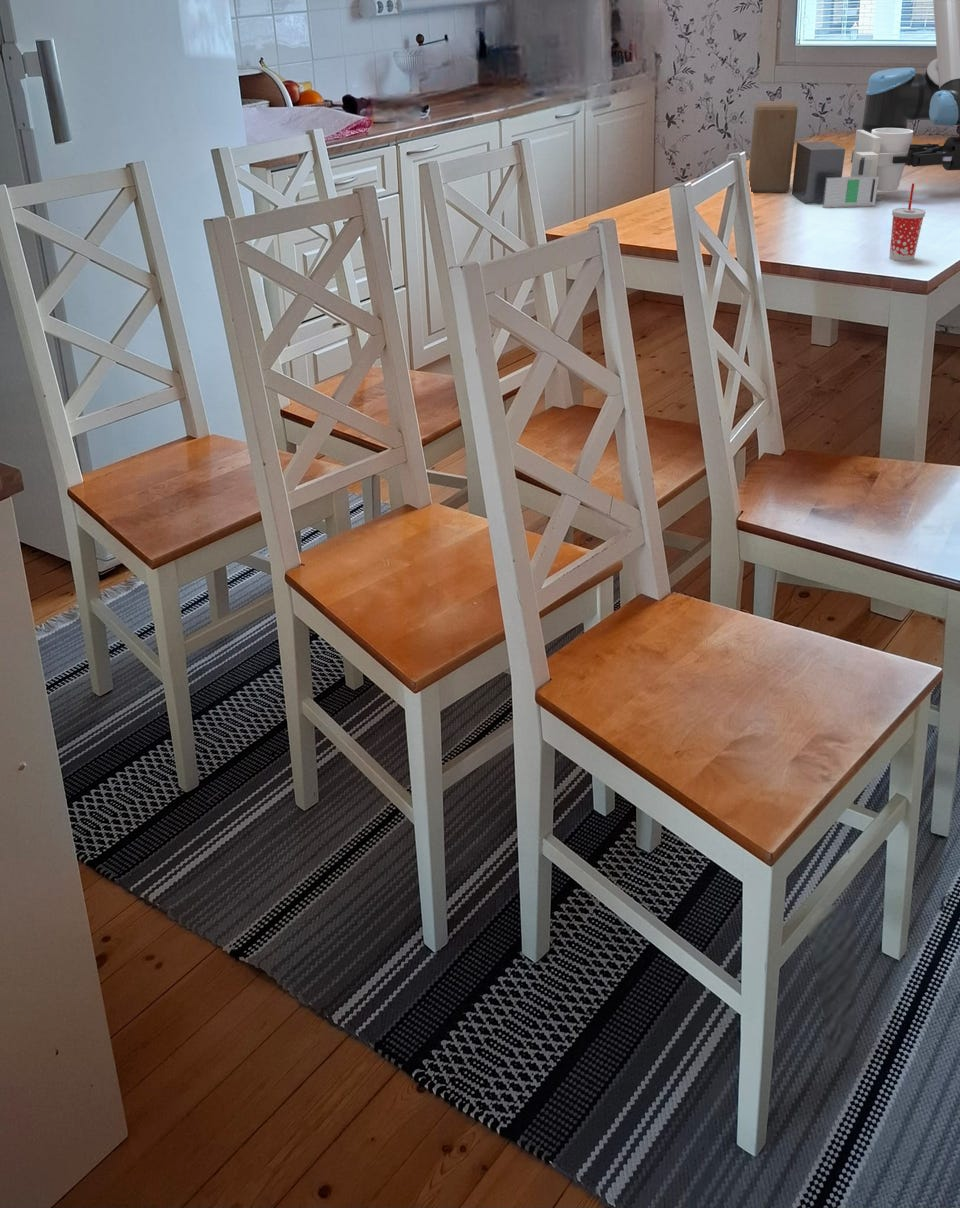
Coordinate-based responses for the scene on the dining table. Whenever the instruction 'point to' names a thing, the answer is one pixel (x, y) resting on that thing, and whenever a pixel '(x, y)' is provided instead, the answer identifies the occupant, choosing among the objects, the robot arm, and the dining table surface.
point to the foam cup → (892, 143)
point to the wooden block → (772, 146)
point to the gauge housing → (829, 178)
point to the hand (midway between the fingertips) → (870, 156)
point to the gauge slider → (865, 154)
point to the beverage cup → (905, 231)
